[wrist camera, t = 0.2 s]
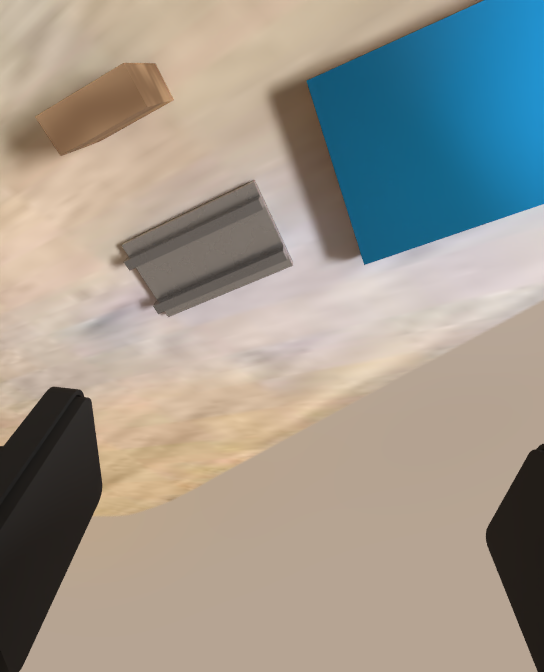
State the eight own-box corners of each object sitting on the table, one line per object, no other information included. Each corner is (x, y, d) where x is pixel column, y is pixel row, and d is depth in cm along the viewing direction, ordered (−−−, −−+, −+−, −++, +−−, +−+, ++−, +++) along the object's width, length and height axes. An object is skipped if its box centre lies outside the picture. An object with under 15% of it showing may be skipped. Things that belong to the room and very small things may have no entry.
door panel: (80, 108, 40) (34, 116, 33) (155, 63, 38) (123, 62, 31) (100, 141, 41) (60, 155, 34) (173, 99, 39) (147, 107, 32)
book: (303, 82, 35) (670, -90, 28) (303, 80, 38) (628, -72, 32) (366, 272, 43) (664, 170, 36) (361, 255, 46) (631, 161, 40)
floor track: (170, 312, 50) (164, 323, 48) (124, 242, 46) (116, 250, 44) (292, 261, 46) (292, 271, 44) (254, 180, 42) (252, 185, 40)
